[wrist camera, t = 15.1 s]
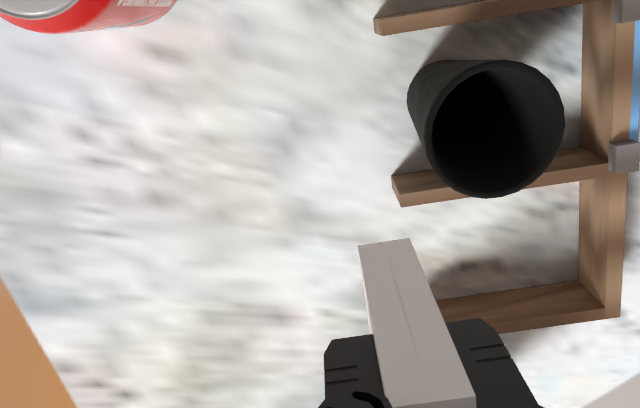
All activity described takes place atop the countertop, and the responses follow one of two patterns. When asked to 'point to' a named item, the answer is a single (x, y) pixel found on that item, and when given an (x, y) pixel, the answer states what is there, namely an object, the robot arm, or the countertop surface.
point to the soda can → (82, 14)
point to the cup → (486, 124)
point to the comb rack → (560, 165)
